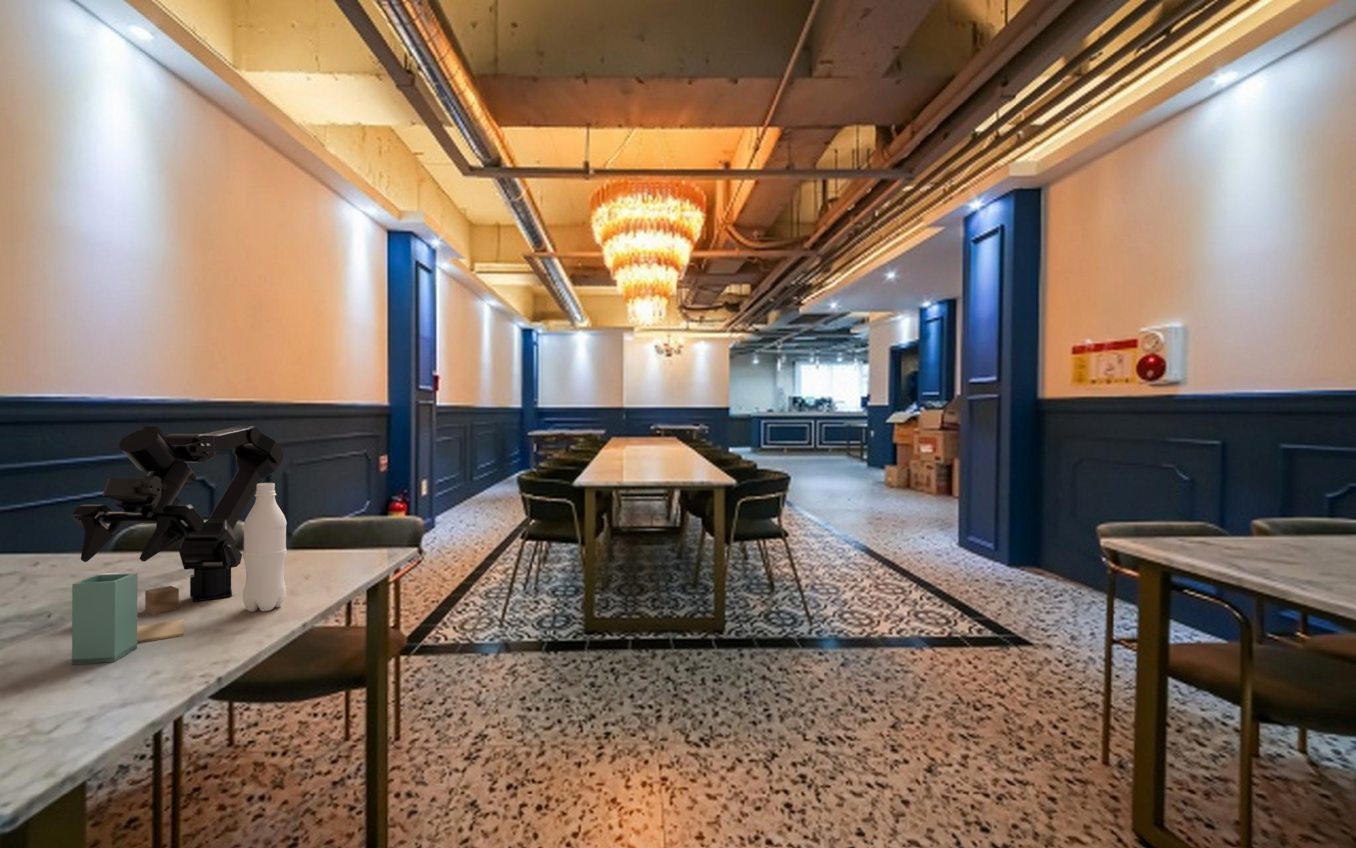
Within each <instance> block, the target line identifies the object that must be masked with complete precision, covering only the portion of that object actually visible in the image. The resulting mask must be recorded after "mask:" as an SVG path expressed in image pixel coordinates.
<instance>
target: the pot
mask: <svg viewBox="0 0 1356 848" xmlns="http://www.w3.org/2000/svg"><path fill="white" fill-rule="evenodd" d="M102 574H103V575H99V574H96V575H95V574H94V575H92V576H93V577H92V576H90V577H88V578H87V577H86V578H85V579H82V580H79V581H76V582H73V583H72V586H71V589H72V590H71V591H72V594H71V595H72V596H71V598H72V599H71V600H72V601H71V604H72V605H71V609H72V610H71V620H72V621H71V623H72V624H71V665H73V666H77V665H86V664H85V663H91V664H101V663H100V662H106V663H115V662H117V661H118V660H120V659H122V658H124V657H125V656H127V655H129V654H130V652H131V653H132V652H134V651H135V649H136V650H137V649H138V643H137V626H138V579H139V578H138V572H133V573H120V574H105V573H102ZM128 653H129V654H128ZM124 655H125V656H124ZM121 657H122V658H121ZM98 662H99V663H98Z"/></svg>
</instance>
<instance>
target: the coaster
mask: <svg viewBox="0 0 1356 848" xmlns="http://www.w3.org/2000/svg"><path fill="white" fill-rule="evenodd" d="M184 627H185V619H184V618H183V619H177V620H170V621H165V622H158V623H152V624H145V625H137V644H138V643H139V644H140V643H145V642H152V641H157V640H164V639H169V638H176V637H181V636H182V637H183V636H184V631H185V630H184V629H185V628H184Z"/></svg>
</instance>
